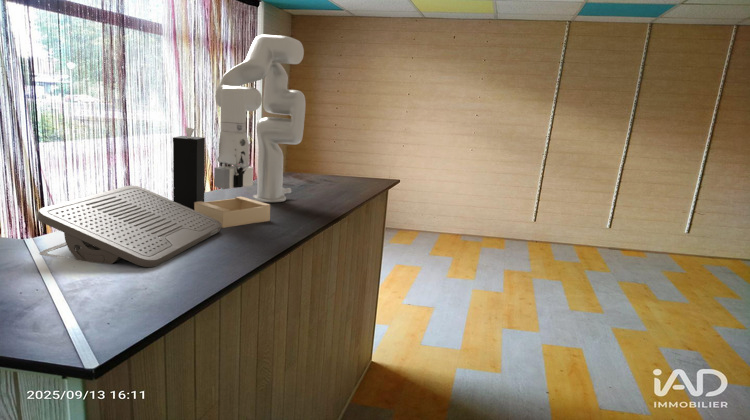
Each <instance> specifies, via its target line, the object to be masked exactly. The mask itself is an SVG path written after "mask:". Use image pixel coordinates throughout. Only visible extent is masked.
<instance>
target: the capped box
mask: <svg viewBox="0 0 750 420" xmlns="http://www.w3.org/2000/svg"><path fill="white" fill-rule="evenodd" d="M239 168H240V167H238V170H239ZM213 170H214V173H213V174H214V176H213V179H214V180H213V181H214V183H213V184H214V185H213V187H214V188H219V189H222V190H228V189H235V188H234V175H235V171H234V165H231V166H228V165H227V166H225V167H221V166H214V169H213ZM253 185H254V167H253V166H250V165H249V167H248V168H247V169H246V171H245V172H244V175H243V187H244V188H245V187H253ZM243 187H242V188H243Z"/></svg>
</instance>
